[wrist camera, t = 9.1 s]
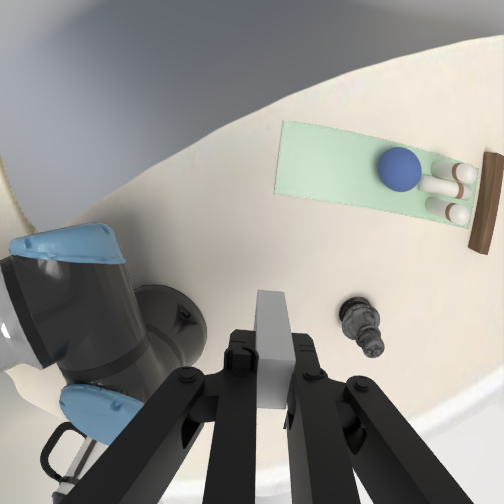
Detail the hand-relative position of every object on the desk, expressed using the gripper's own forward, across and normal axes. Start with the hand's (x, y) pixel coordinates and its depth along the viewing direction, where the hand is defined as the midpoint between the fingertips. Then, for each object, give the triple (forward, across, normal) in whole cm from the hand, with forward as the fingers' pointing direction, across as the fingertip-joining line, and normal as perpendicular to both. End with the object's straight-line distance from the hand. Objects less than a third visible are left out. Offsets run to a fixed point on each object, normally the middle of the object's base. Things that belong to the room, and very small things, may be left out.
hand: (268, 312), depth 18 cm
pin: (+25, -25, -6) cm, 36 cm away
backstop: (+25, -35, -8) cm, 44 cm away
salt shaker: (+26, -16, +12) cm, 32 cm away
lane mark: (+25, -17, -9) cm, 32 cm away
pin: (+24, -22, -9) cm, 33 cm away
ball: (+22, -17, -10) cm, 30 cm away
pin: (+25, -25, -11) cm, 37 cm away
